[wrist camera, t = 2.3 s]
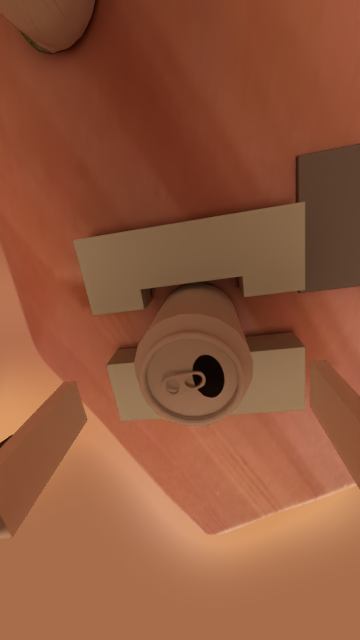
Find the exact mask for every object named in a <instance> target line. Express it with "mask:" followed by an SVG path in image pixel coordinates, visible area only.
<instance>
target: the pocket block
mask: <svg viewBox="0 0 360 640" xmlns="http://www.w3.org/2000/svg"><path fill="white" fill-rule="evenodd" d="M73 243H74V247H75V250H76V254H77V258H78V261H79V265H80V269H81V273H82V276H83V280H84V284H85V288H86V291H87V295H88V299H89V303H90V306H91V310H92V314H93V315H101V314H109V313H117V312H126V311H134V310H142V309H145V308H146V306H147V305H148V304H149V303H150V301H151V300H152V295H151V290H150V288H156V287H164V286H171V285H179V284H187V283H194V282H202V281H209V280H217V279H225V278H232V277H238V279H239V289H240V291H241V292H242V294H243V296H244V297H251V296H259V295H267V294H276V293H284V292H292V291H301V290H305V202H299V203H293V204H287V205H281V206H275V207H269V208H263V209H257V210H251V211H245V212H239V213H233V214H227V215H221V216H215V217H209V218H203V219H197V220H191V221H185V222H179V223H173V224H167V225H161V226H155V227H149V228H143V229H137V230H131V231H125V232H119V233H113V234H107V235H101V236H95V237H89V238H83V239H77V240H73ZM245 339H246V342H247V344H248V347H249V350H250V353H251V356H252V359H253V379H252V381H251V383H250V386H249V388H248V390H247V393H246V394H245V396H244V397H243V398H242V400H241V403H240V404H239V406H238V407H237V408H236V409H235V410H234V411H233V412H232V413H231V414H230V415H234V414H251V413H269V412H286V411H304V410H305V346H304V345H303V344H302V343H301V341H300V340H299V339H298V338H297V337H296V335H295V334H294V333H293V332H287V333H277V334H267V335H257V336H247V337H245ZM136 352H137V347H135V348H125V349H118V350H117V351H116V353H115V354H114V355H113V357H112V358H111V359H110V361H109V362H108V363H107V365H106V366H107V370H108V373H109V377H110V381H111V385H112V388H113V392H114V396H115V400H116V403H117V407H118V411H119V415H120V418H121V421H130V420H147V419H164V418H163V417H162V416H160V415H158V414H157V413H156V412H155V411H154V410H153V409H152V408H151V407H150V406H149V405H148V404H147V403H146V401H145V399H144V397H143V395H142V393H141V390H140V386H139V383H138V380H137V378H136V372H135V364H134V360H135V356H136Z"/></svg>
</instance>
